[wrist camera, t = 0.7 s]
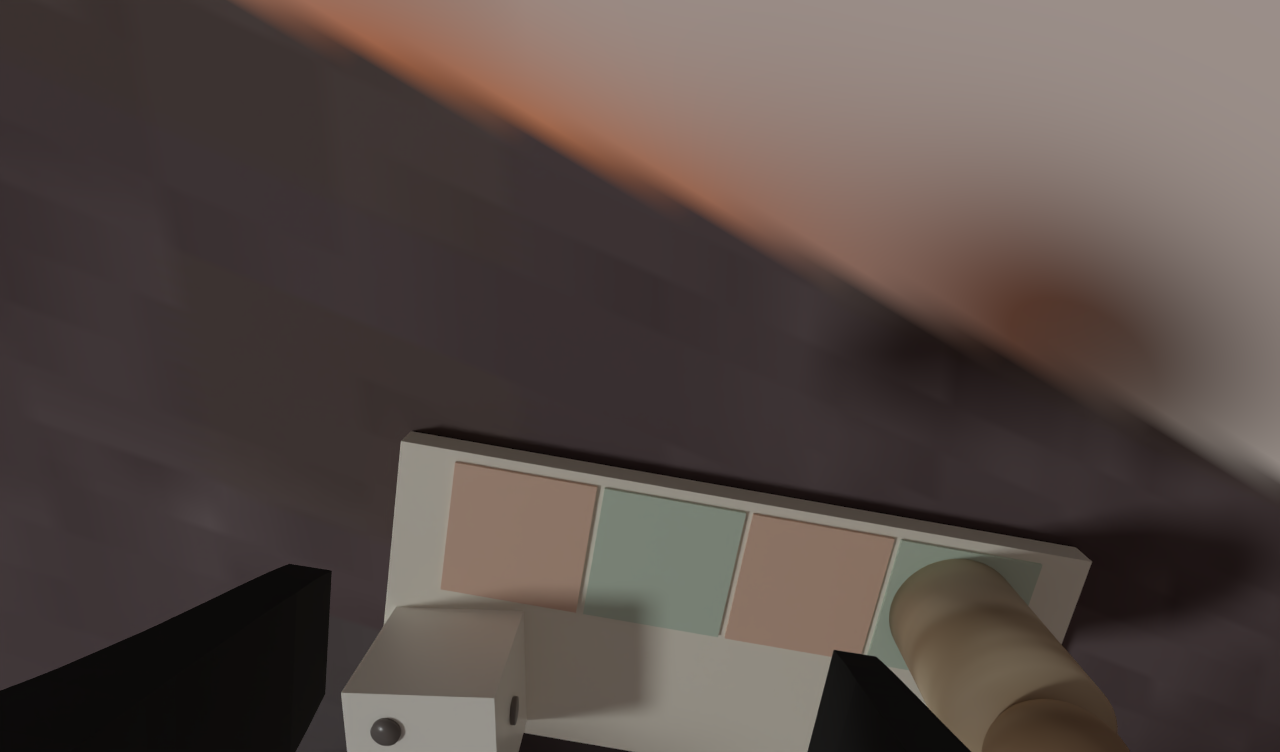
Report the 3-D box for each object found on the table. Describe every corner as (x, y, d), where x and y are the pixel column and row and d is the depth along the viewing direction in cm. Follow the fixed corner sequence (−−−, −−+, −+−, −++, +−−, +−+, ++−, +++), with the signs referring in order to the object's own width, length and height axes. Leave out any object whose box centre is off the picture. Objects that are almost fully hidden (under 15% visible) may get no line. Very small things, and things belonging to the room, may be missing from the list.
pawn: (995, 678, 20) (1158, 924, 14) (874, 658, 20) (979, 894, 14) (1033, 570, 20) (1226, 775, 13) (907, 548, 20) (1035, 743, 13)
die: (530, 720, 21) (502, 827, 18) (404, 715, 22) (352, 821, 18) (527, 610, 20) (497, 701, 17) (395, 606, 21) (339, 695, 17)
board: (987, 792, 22) (1000, 817, 22) (386, 689, 22) (374, 709, 21) (1076, 547, 20) (1094, 563, 19) (411, 431, 20) (399, 442, 19)
